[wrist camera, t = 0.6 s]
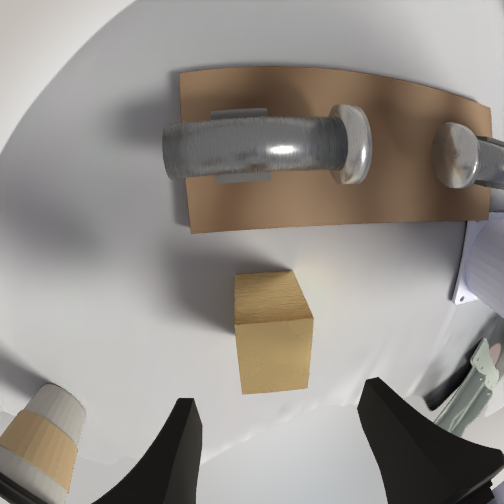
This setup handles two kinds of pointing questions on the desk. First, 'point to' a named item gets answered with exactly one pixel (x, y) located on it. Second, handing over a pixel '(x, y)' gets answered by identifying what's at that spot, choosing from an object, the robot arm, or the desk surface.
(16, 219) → the desk surface
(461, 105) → the stand
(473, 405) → the metal bracket
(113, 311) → the desk surface
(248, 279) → the block
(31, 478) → the coffee cup
